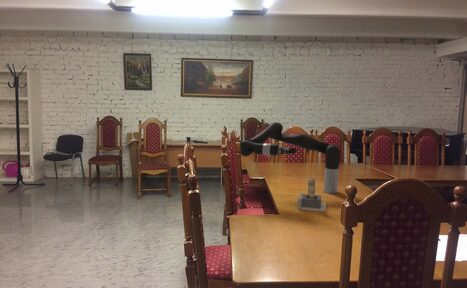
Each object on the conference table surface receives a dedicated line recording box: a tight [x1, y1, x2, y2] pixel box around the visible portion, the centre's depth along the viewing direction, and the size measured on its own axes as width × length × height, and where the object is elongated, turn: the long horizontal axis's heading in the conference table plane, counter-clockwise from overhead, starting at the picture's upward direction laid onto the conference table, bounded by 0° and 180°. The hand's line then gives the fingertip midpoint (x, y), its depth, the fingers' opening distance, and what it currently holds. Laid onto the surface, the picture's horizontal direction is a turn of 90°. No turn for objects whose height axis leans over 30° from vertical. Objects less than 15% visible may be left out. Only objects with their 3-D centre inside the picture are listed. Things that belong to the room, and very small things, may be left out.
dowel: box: [307, 177, 316, 199], centre depth 219 cm, size 4×4×16 cm
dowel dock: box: [297, 192, 327, 213], centre depth 220 cm, size 14×16×6 cm
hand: (295, 151), depth 228 cm, fingers open, 8 cm apart
